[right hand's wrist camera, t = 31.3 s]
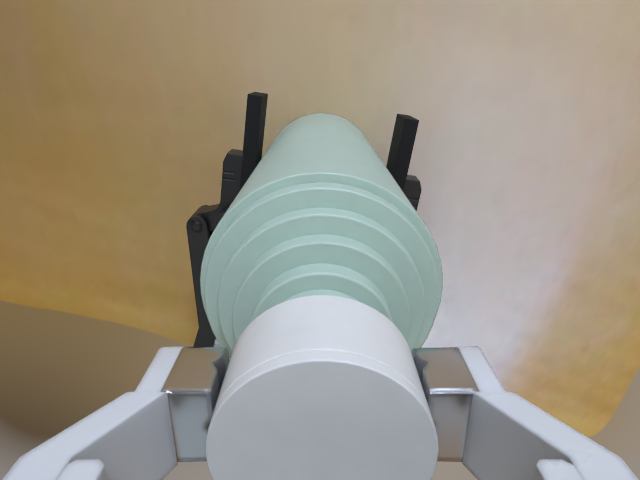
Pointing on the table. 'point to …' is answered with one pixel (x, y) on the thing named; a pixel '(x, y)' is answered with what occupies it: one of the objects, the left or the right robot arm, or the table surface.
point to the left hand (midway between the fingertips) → (333, 106)
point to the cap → (321, 399)
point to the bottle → (321, 235)
